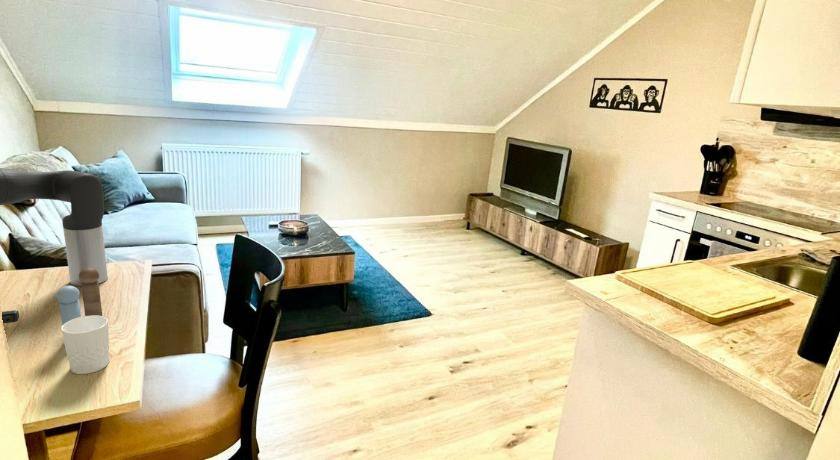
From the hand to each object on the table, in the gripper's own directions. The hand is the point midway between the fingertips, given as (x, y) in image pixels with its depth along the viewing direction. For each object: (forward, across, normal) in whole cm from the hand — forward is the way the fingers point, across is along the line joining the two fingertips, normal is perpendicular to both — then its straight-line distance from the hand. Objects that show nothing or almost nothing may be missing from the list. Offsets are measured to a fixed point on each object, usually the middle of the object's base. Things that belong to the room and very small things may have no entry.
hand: (18, 315), depth 98 cm
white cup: (+13, -13, +8) cm, 20 cm away
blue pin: (+9, 0, +8) cm, 12 cm away
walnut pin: (+12, +11, +8) cm, 18 cm away
